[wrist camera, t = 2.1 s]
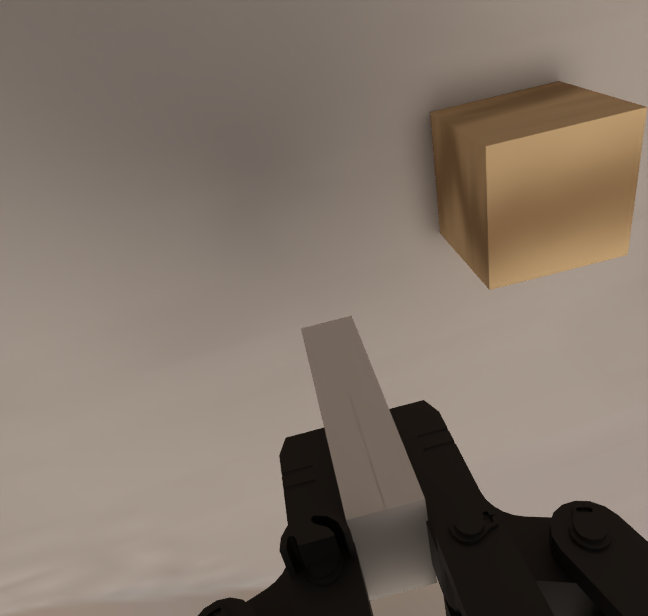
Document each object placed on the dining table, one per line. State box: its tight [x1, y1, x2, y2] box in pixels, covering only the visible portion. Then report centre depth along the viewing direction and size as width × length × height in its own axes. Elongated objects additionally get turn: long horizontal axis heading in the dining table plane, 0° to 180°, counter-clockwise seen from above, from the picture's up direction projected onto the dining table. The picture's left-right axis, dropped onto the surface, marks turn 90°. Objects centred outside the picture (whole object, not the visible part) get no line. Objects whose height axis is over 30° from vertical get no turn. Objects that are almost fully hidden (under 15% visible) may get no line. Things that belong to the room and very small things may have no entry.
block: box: [430, 81, 647, 290], centre depth 23 cm, size 6×6×6 cm
